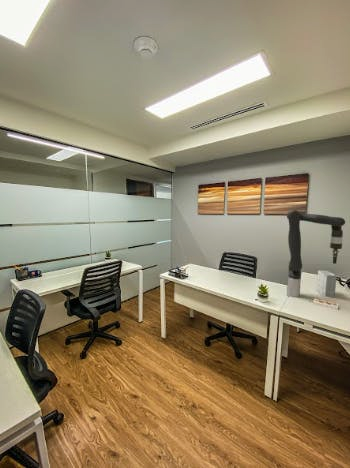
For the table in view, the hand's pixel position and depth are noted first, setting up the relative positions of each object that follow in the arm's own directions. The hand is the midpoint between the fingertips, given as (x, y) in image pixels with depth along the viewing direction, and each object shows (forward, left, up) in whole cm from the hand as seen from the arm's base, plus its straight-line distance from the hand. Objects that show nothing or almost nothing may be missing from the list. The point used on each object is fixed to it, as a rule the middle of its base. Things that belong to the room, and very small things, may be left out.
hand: (334, 262), depth 164 cm
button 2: (-11, -10, -32) cm, 35 cm away
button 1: (-15, -7, -32) cm, 36 cm away
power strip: (-12, -9, -33) cm, 36 cm away
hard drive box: (+4, +14, -33) cm, 36 cm away
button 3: (-7, -13, -32) cm, 35 cm away
